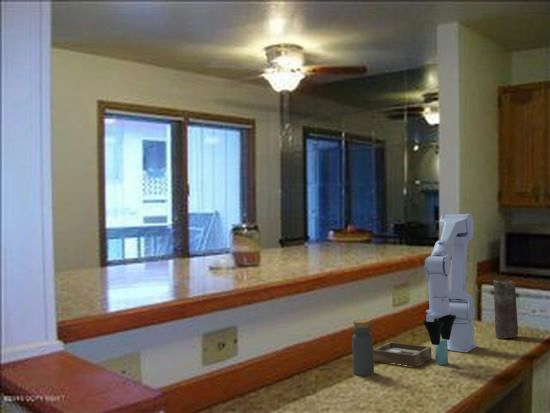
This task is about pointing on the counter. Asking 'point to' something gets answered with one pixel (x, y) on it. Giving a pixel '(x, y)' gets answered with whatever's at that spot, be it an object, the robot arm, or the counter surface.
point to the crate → (401, 354)
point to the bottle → (362, 348)
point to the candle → (505, 309)
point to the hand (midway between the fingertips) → (440, 341)
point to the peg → (441, 352)
